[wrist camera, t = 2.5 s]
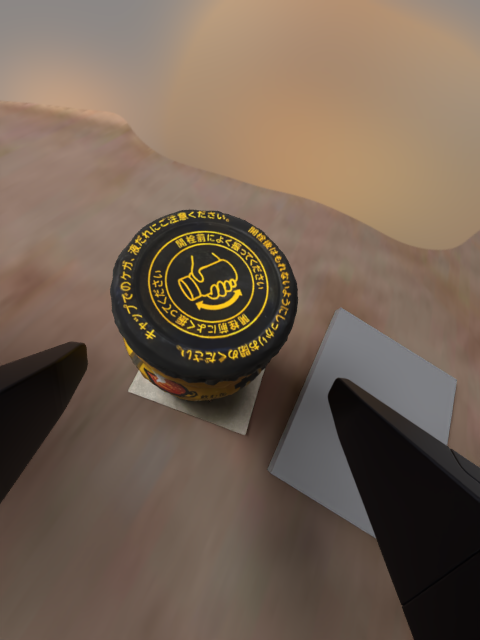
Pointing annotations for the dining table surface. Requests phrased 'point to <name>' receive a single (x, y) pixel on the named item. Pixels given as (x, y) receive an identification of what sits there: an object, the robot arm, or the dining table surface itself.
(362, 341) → the board
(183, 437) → the dining table surface
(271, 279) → the condiment
